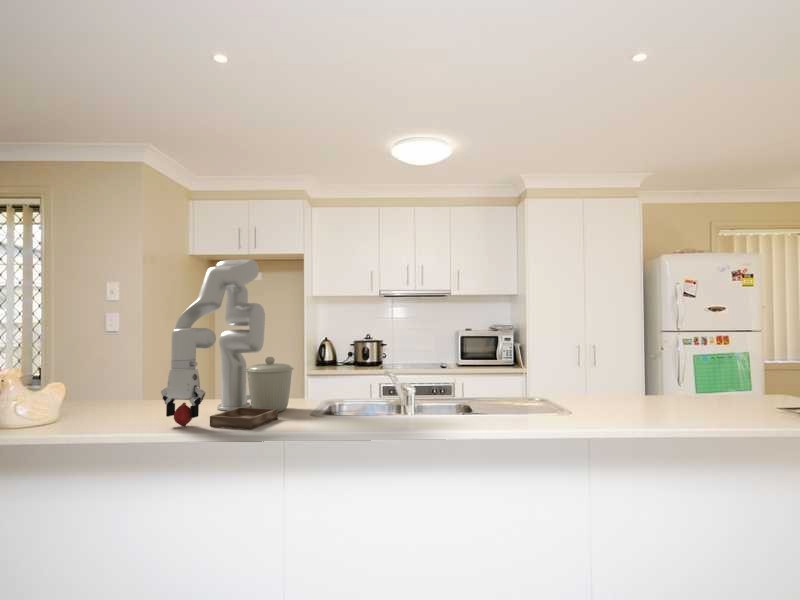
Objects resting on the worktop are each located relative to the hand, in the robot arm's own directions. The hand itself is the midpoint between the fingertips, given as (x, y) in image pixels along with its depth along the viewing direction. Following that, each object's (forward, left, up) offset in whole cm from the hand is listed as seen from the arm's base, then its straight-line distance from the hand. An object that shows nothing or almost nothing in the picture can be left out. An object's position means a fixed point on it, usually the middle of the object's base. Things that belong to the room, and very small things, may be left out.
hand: (182, 416), depth 153 cm
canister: (-31, +14, -4) cm, 34 cm away
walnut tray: (-11, +17, -3) cm, 20 cm away
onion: (-1, 0, -4) cm, 4 cm away
